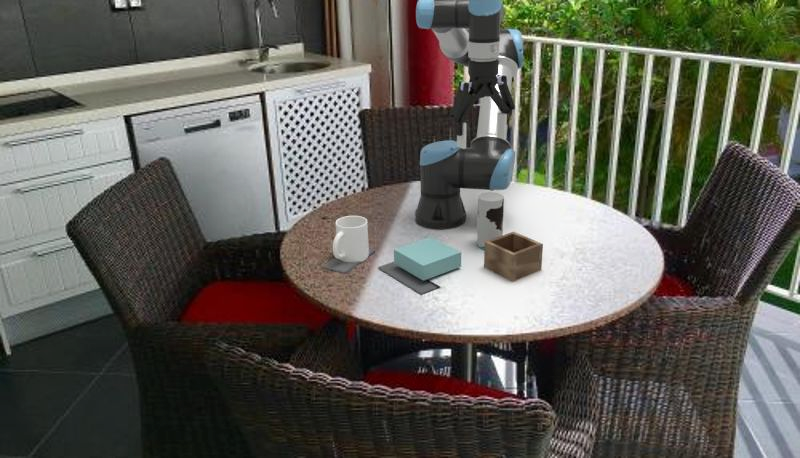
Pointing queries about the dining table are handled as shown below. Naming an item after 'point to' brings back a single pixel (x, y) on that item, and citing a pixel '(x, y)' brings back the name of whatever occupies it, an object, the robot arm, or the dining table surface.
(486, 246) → the box
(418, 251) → the lid
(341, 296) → the dining table surface
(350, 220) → the mug
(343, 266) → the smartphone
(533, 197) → the dining table surface
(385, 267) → the mat
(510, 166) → the robot arm
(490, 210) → the printed grey cylinder
